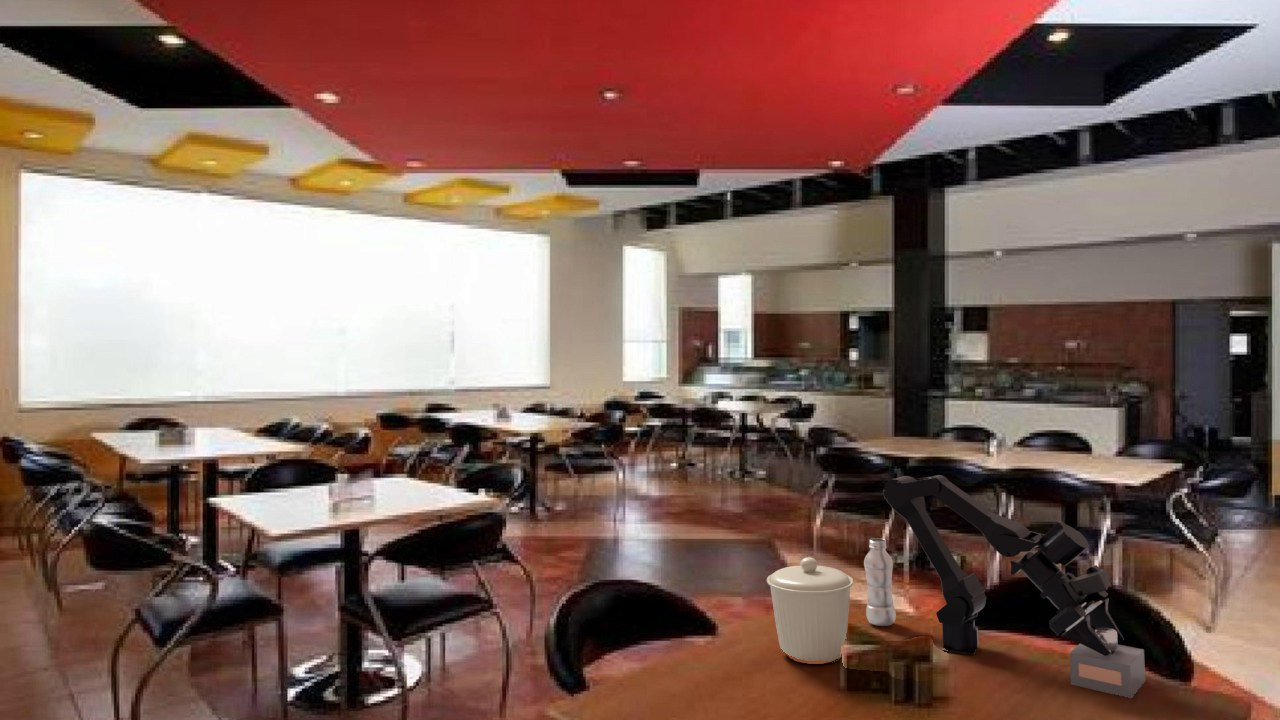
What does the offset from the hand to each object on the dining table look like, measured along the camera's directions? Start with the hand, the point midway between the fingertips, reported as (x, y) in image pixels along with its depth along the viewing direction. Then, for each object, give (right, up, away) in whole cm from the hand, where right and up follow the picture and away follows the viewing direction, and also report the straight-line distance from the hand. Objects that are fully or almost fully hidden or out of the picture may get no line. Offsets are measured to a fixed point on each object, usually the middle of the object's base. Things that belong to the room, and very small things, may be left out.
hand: (1115, 647), depth 150 cm
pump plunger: (-1, -6, +1) cm, 6 cm away
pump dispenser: (-1, -7, +1) cm, 7 cm away
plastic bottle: (-33, -9, +38) cm, 51 cm away
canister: (-53, -9, +20) cm, 57 cm away
